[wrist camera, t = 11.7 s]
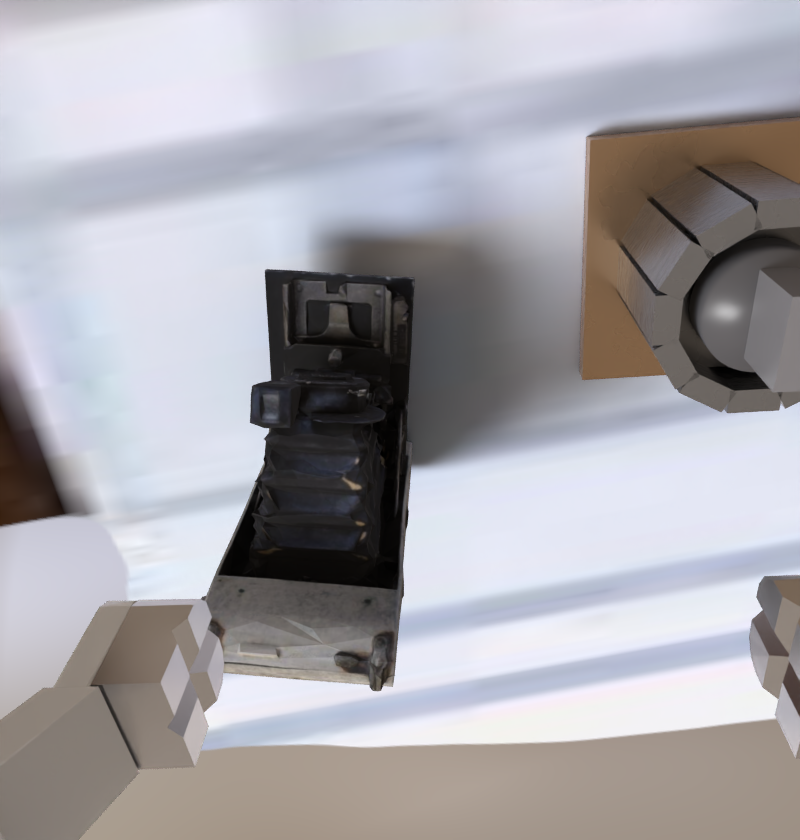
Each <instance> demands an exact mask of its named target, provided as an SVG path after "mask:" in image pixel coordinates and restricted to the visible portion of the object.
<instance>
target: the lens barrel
mask: <svg viewBox="0 0 800 840" xmlns="http://www.w3.org/2000/svg"><path fill="white" fill-rule="evenodd" d="M758 238H779V239H784V240H787V241H790V242H792V243H795V244H797V245H798V246H800V117H792V118H782V119H771V120H760V121H749V122H739V123H728V124H717V125H706V126H696V127H685V128H674V129H663V130H653V131H642V132H631V133H621V134H610V135H599V136H588V137H586V167H585V200H584V233H583V265H582V298H581V331H580V364H579V372H580V375H581V377H582V380H590V379H606V378H622V377H639V376H655V375H667V376H668V378H669V380H670V381H671V383H672V385H673V386H674V388H675V389H677V390H678V392H679V393H681V394H683V395H685V396H687V397H690V398H692V399H694V400H696V401H698V402H700V403H703V404H705V405H707V406H709V407H711V408H713V409H716V410H718V411H720V412H722V411H723V410H725V411H726V412H727V413H739V412H757V411H775V410H779V408H780V403H781V404H782V405H783V407H784V408H785V409H786V408H788V407H790V406H792V405H794V404H796V403H798V402H800V391H796V392H772V391H771V390H770V388H769V387H768V386H767V385H766V384H765V382H764V381H763V380H762V379H761V378H760V377H759V375H758V374H757V373H756V372H746V371H740V370H736V369H733V368H731V367H728V366H726V365H725V364H723V363H721V362H720V361H719V360H718V359H716V358H715V357H714V356H713V354H712V353H711V352H710V351H709V349H708V348H707V347H706V346H705V344H704V343H703V342H702V340H701V339H700V338H699V336H698V335H697V333H696V332H695V330H694V328H693V326H692V323H691V319H690V311H689V307H690V299H691V294H692V291H693V288H694V286H695V284H696V282H697V280H698V278H699V277H700V275H701V273H702V272H703V271H704V269H705V268H706V267H707V266H708V265H709V264H710V263H711V262H712V261H713V260H714V259H715V258H716V257H717V256H719V255H720V254H721V253H723V252H724V251H726V250H727V249H729V248H731V247H733V246H735V245H737V244H739V243H742V242H745V241H748V240H752V239H758Z"/></svg>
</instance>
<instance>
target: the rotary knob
mask: <svg viewBox="0 0 800 840" xmlns="http://www.w3.org/2000/svg"><path fill="white" fill-rule="evenodd" d="M689 311H690V319H691V323H692V326H693V328H694V330H695V332H696V333H697V335H698V336H699V338H700V339H701V340H702V342H703V343H704V344H705V346H706V347H707V348H708V349H709V351H710V352H711V353H712V354H713V356H714V357H715V358H716V359H718V360H719V361H720V362H721V363H723V364H725V365H726V366H728V367H731V368H733V369H736V370H740V371H746V372H756V373H757V374H758V375H759V377H760V378H761V379H762V380H763V381H764V382H765V384H766V385H767V386H768V387H769V388H770V390H771V391H772V392H796V391H800V246H798V245H797V244H795V243H792V242H790V241H787V240H784V239H779V238H758V239H752V240H748V241H745V242H742V243H739V244H737V245H735V246H733V247H731V248H729V249H727V250H726V251H724V252H723V253H721V254H720V255H719V256H717V257H716V258H715V259H714V260H713V261H712V262H711V263H710V264H709V265H708V266H707V267H706V268H705V269H704V271H703V272H702V273H701V275H700V277H699V278H698V280H697V282H696V284H695V286H694V288H693V291H692V294H691V299H690V307H689Z"/></svg>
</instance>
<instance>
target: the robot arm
mask: <svg viewBox="0 0 800 840" xmlns="http://www.w3.org/2000/svg"><path fill="white" fill-rule="evenodd" d="M757 599H758V601H759V603H760V605H761V607H762V609H763V611H761V612H760V613H759V614H758V615H757V616H756V617H755V618H753V619H752V622H751V629H750V636H749V640H750V651H751V658H752V661H753V665H754V668H755V672H756V674H757V676H758V678H759V681H760V683H761V685H762V687H763V688H764V689H766V690H767V691H768V692H770V693H771V694H772V695H774V696H775V697H776V698H778V699H779V700H778V704H777V708H776V713H775V716H776V718H777V720H778V722H779V724H780V726H781V728H782V731H783V733H784V735H785V737H786V739H787V741H788V743H789V746H790V748H791V750H792V752H793V754H794V756H795V758H800V575H784V576H764V578H763V579H762V581H761V582H760V583H759V587H758V592H757ZM211 618H212V616H211V613H210V611H209V608H208V606H207V603H206V601H203V600H201V599H171V600H138V601H107V602H106V603H105V604H104V605H102V606H101V607H99V609H98V610H97V612H96V614H95V616H94V617H93V619H92V621H91V622H90V624H89V626H88V628H87V629H86V631H85V633H84V635H83V636H82V638H81V640H80V642H79V643H78V645H77V647H76V648H75V650H74V652H73V654H72V656H71V657H70V659H69V661H68V662H67V664H66V666H65V668H64V669H63V671H62V673H61V675H60V677H59V678H58V680H57V682H56V684H55V685H54V687H52V688H43V689H41V690H40V691H39V692H37V693H36V694H35V695H33V696H32V697H31V698H29V699H28V700H27V701H26V702H24V703H23V704H21V705H20V706H19V707H17V708H16V709H15V710H13V711H12V712H10V713H9V714H8V715H6V716H5V717H4V718H3V719H1V720H0V840H79V839H80V838H81V837H82V835H83V834H84V833H85V832H86V831H87V830H88V829H89V828H90V827H91V825H92V824H93V823H94V822H95V821H96V820H97V819H98V818H99V817H100V816H101V815H102V813H103V812H104V811H105V810H106V809H107V808H108V807H109V806H110V804H112V802H113V801H114V800H115V799H116V798H117V797H118V796H119V795H120V794H121V792H122V791H123V790H124V789H125V788H126V787H127V786H128V785H129V784H130V782H131V781H132V780H133V779H134V778H135V777H136V776H137V775H138V774H139V771H138V770H140V769H161V768H185V767H195V766H196V763H197V760H198V757H199V754H200V751H201V748H202V745H203V742H204V739H205V736H206V733H207V730H208V727H209V726H208V723H207V721H206V718H205V715H204V712H205V711H206V710H207V709H208V708H209V707H210V706H211V705H213V704H214V703H215V702H216V701H217V699H218V696H219V692H220V689H221V686H222V680H223V670H224V659H223V650H222V646H221V643H220V640H219V638H218V637H217V636H216V635H215V634H213V633H212V632H211V631H209V630H208V626H209V623H210V621H211Z"/></svg>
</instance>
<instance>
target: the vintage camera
mask: <svg viewBox="0 0 800 840" xmlns="http://www.w3.org/2000/svg"><path fill="white" fill-rule="evenodd" d="M265 281H266V299H267V315H268V331H269V348H270V365H271V381H268V382H263V383H258V384H256V385H253V386H252V392H251V415H250V423H252V424H255V425H258V426H261V427H264V428H269V434H268V435H267V436H266V437H265V438H264V440H266V447H265V456H264V464H263V466H262V468H261V471H260V473H259V475H258V478H257V480H256V481H255V482H256V483H255V485H254V487H253V490H252V492H251V495H250V497H249V499H248V502H247V504H246V507H245V509H244V512H243V514H242V516H241V518H240V520H239V523H238V525H237V527H236V529H235V532H234V534H233V536H232V538H231V540H230V543H229V545H228V547H227V549H226V551H225V554H224V556H223V558H222V560H221V562H220V565H219V567H218V569H217V571H216V574H215V576H214V579H213V581H212V583H211V586H210V588H209V591H208V593H207V596H204V597H202V598H201V600H203V601H206V603H207V606H208V608H209V611H210V613H211V616H212V618H211V621H210V623H209V626H208V630H209V631H211V632H212V633H213V634H215V635H216V636H217V637H218V638H219V640H220V643H221V646H222V650H223V659H224V670H223V673H231V674H243V675H254V676H266V677H277V678H289V679H301V680H314V681H327V682H339V683H352V684H365V685H370V688H371V689H372V690H373V691H381V689H382V687H383V686H390V687H393V682H394V676H395V664H396V653H397V641H398V630H399V620H400V612H401V603H402V598H403V596H404V578H403V559H404V546H405V534H406V528H407V524H408V512H409V511H408V499H409V489H410V476H411V460H412V442H408V441H407V403H408V392H409V372H410V356H411V339H412V317H413V297H414V283H415V279H414V278H413V277H393V276H373V275H354V274H340V273H324V272H307V271H291V270H270V269H266V270H265Z"/></svg>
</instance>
